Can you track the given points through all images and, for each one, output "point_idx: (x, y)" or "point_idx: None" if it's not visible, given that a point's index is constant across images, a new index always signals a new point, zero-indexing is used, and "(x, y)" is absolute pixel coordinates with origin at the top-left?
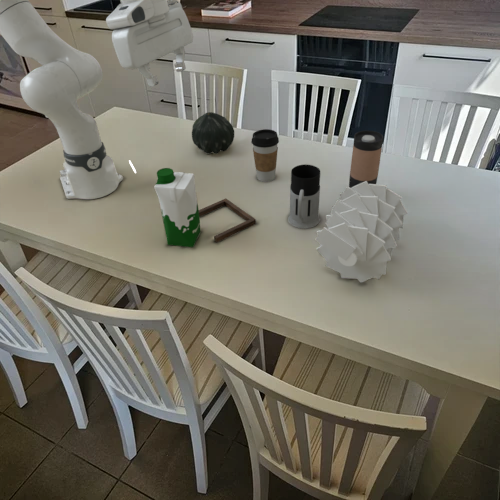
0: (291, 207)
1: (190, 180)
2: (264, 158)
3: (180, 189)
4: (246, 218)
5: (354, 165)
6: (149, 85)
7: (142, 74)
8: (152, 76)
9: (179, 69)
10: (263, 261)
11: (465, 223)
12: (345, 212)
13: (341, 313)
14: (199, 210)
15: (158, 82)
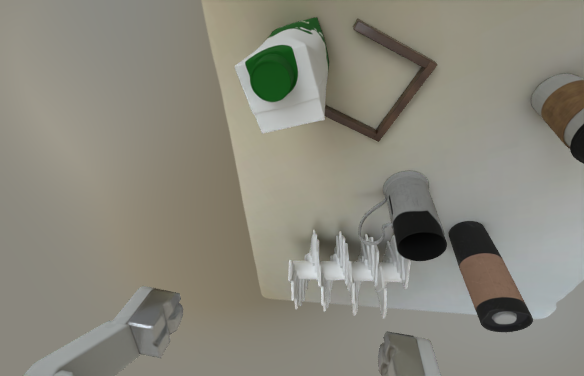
0: (397, 193)
1: (297, 125)
2: (557, 127)
3: (259, 124)
4: (381, 124)
5: (475, 274)
6: (142, 291)
7: (72, 346)
8: (127, 357)
9: (382, 357)
10: (303, 172)
11: (429, 298)
12: (321, 293)
13: (270, 240)
14: (380, 35)
15: (179, 322)
